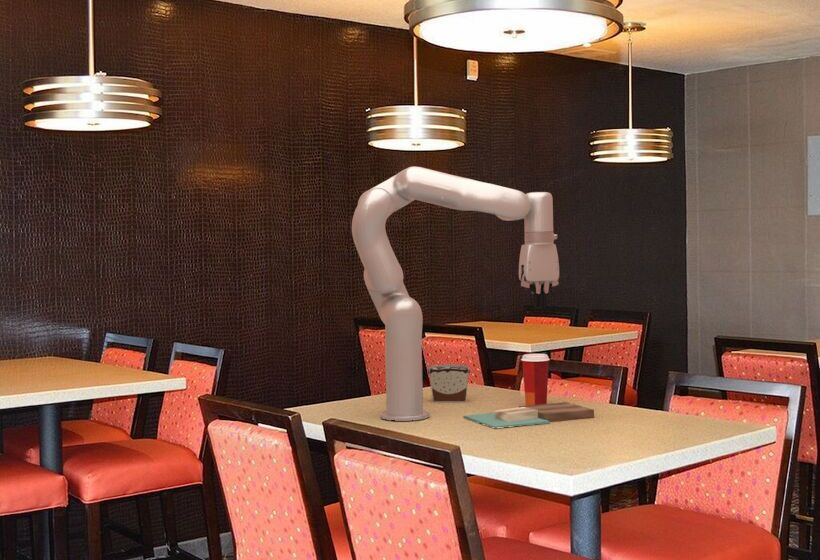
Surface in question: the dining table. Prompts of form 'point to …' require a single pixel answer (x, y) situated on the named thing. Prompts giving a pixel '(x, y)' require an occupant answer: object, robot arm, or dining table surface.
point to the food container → (449, 382)
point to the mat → (491, 421)
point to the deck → (561, 411)
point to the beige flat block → (516, 414)
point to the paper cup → (535, 378)
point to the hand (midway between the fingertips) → (540, 308)
